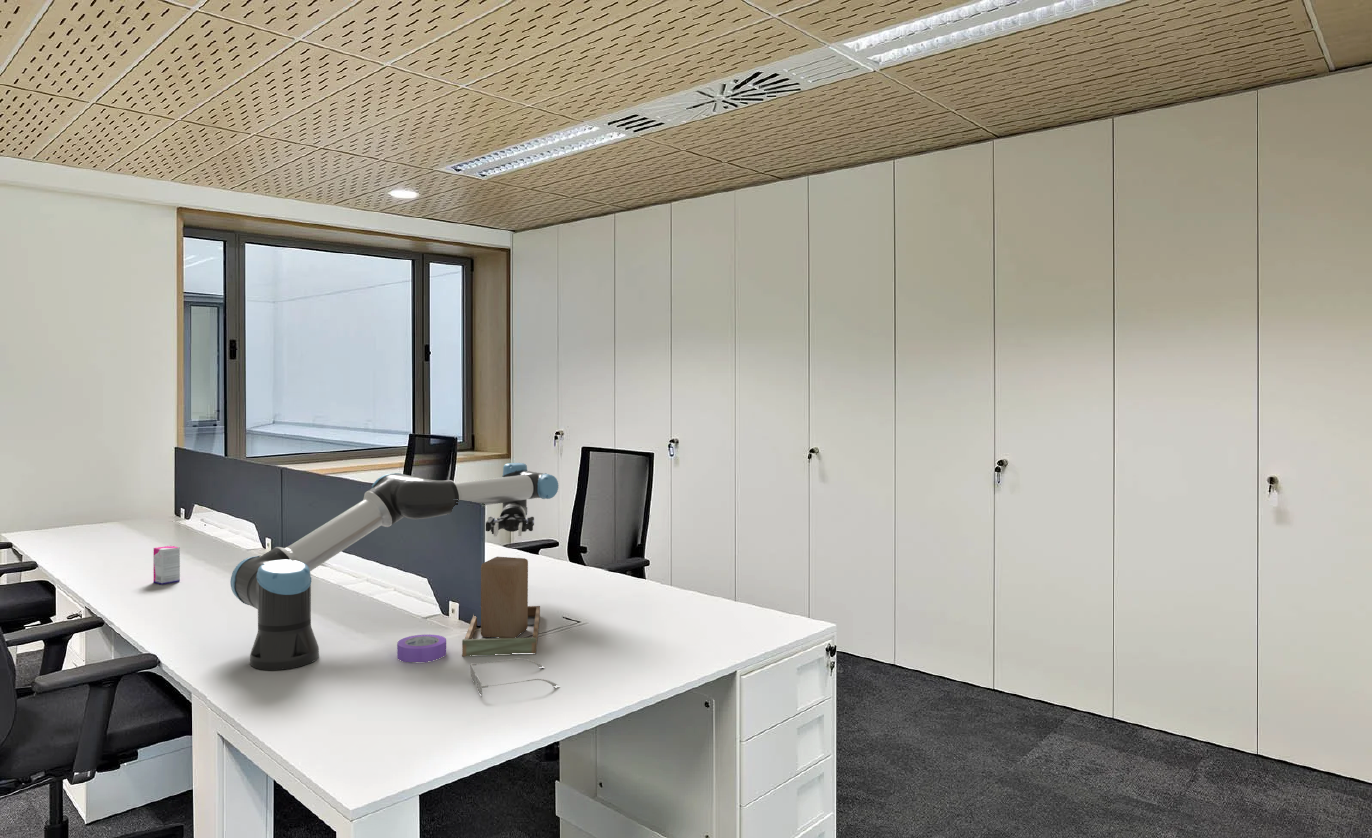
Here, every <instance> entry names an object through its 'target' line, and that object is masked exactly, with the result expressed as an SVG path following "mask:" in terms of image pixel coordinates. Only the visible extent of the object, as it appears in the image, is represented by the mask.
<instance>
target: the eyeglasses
mask: <svg viewBox="0 0 1372 838" xmlns="http://www.w3.org/2000/svg"><path fill="white" fill-rule="evenodd" d="M515 660H525V661H529V662H531V663H532V664H535V665H536V666H537V667H538V668H539V667H542V666H543V665H542V664H541V663H540V662H537V661H535V660H532V659H528V658H518V657H516V658H510V659H508V661H515ZM501 661H506V659H502V660H501V659H500V660H499V662H501ZM496 662H498V660H494V661H492V663H496ZM488 663H490V661H488V662H486V661H485V662H484V664H488ZM482 664H483V662H480V663H477V662H472V663H470V664H469V666H470V667H469V668H470V669H469V670H470V678H471V677H472V679H471V681H472V680H473V681H474V683H475V684H476V689H477V688H478V691H479V693H480V694H481V695H482V694H483V689H486V688H487V689H488V688H489V687H494V686H497V684H492V685H489V684H485V685H484V684H482V681H481V679H480V678H479V676H478V674H477V673H476V671H475V668H474V666H477V665H482ZM473 681H472V682H473ZM530 681H531V682H532V681H542V682H543V681H544V682H545V683H548V684H550V685H551V686H552V687H553V686H556V685H558V684H557V683H556V682H553V681H551V680H546V679H544V678H543V679H542V678H532V679H527V680H522V681H520V683H524V682H530ZM474 683H473V684H474ZM517 683H519V681H517V682H515V681H514V682H513V684H517ZM511 684H512V682H508V683H506V685H511ZM501 685H504V683H502V684H501V683H499V684H498V686H501ZM478 691H477V692H478ZM479 693H478V694H479ZM482 696H483V695H482Z"/></svg>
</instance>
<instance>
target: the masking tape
mask: <svg viewBox="0 0 1372 838" xmlns="http://www.w3.org/2000/svg"><path fill="white" fill-rule="evenodd" d="M396 646H397V647H396V653H397V655H396V658H397V660H398V659H399V660H398V661H400V660H401V661H400V662H402V661H403V663H407V662H425V663H429V662H428V661H431V662H434V661H433V660H436V659H439V658H441V657H443V656H444V657H446V656H447V638H446V637H444V636H443V635H437V634H417V635H410V636H405V637H404V638H401V639H399V640H398V641H397V645H396ZM444 657H443V658H444ZM441 659H442V658H441ZM439 660H440V659H439ZM436 661H437V660H436Z"/></svg>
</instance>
